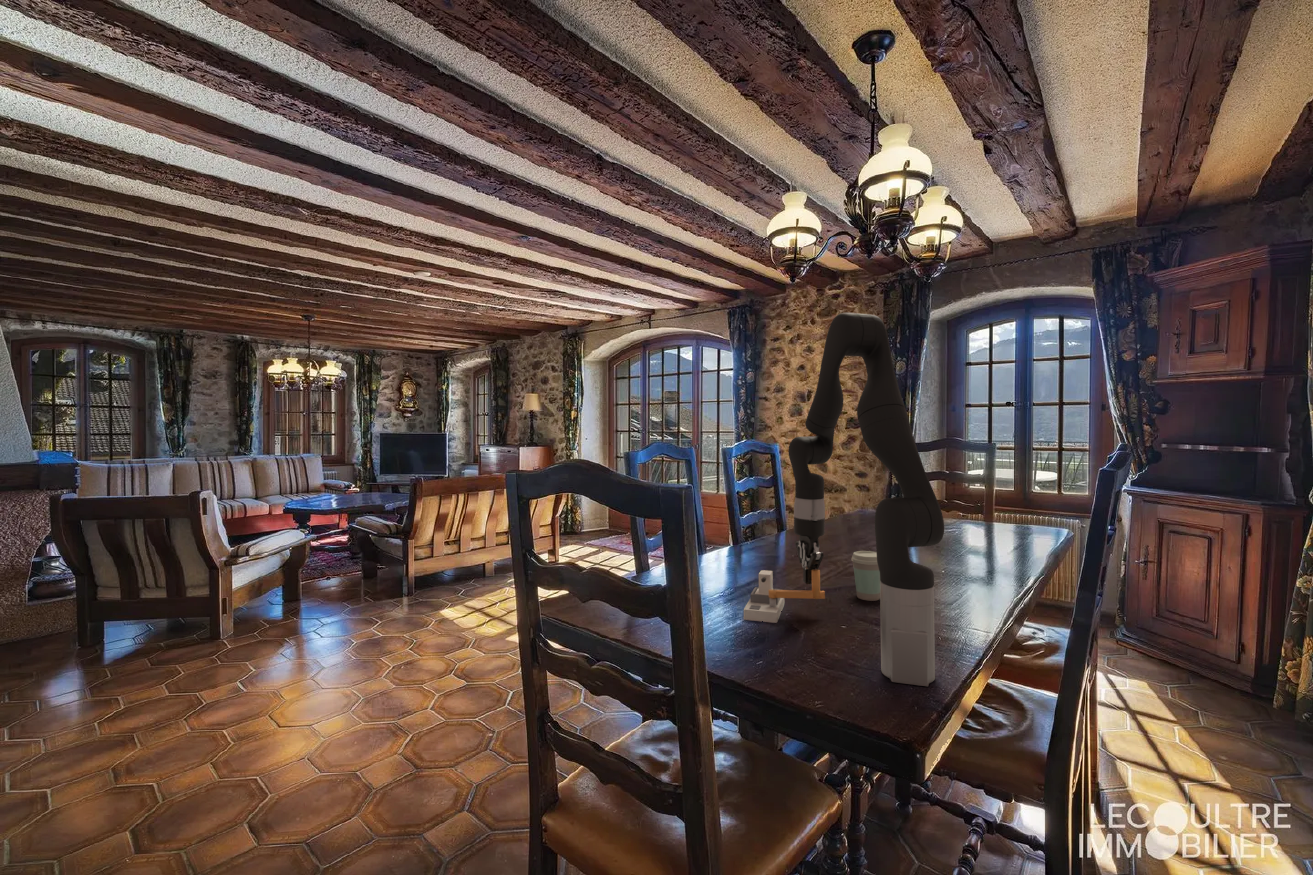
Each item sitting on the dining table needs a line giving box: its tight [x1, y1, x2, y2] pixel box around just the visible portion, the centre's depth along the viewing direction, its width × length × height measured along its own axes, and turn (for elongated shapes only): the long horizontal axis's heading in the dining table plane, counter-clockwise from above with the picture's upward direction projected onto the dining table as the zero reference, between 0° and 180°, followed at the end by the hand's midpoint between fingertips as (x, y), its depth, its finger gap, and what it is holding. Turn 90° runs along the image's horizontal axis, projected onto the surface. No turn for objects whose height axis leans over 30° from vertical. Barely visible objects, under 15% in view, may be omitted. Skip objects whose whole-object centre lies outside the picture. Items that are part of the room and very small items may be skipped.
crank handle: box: [769, 568, 826, 600], centre depth 136 cm, size 14×2×7 cm, turn 84°
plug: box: [755, 569, 774, 595], centre depth 141 cm, size 6×5×7 cm
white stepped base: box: [743, 586, 786, 624], centre depth 140 cm, size 15×8×4 cm, turn 160°
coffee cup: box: [850, 550, 880, 602], centre depth 150 cm, size 8×8×12 cm
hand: (808, 583), depth 139 cm, fingers closed
